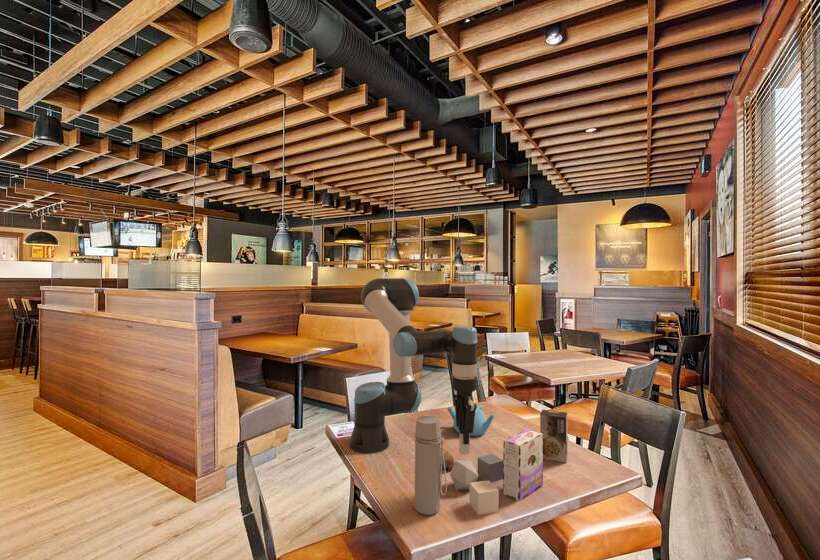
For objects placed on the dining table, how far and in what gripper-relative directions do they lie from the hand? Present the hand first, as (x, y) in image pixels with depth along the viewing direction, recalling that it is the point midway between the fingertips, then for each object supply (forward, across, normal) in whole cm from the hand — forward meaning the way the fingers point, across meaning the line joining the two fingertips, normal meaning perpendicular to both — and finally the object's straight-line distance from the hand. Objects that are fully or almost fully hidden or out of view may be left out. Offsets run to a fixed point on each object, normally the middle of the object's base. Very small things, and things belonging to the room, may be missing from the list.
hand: (464, 453), depth 127 cm
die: (+11, 0, 0) cm, 11 cm away
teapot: (+11, +44, -21) cm, 50 cm away
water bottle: (+11, -9, +14) cm, 20 cm away
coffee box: (+11, +12, -40) cm, 43 cm away
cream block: (+11, -12, -1) cm, 16 cm away
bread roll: (+11, +16, +3) cm, 19 cm away
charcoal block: (+11, +4, -11) cm, 16 cm away
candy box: (+11, -6, -17) cm, 21 cm away
